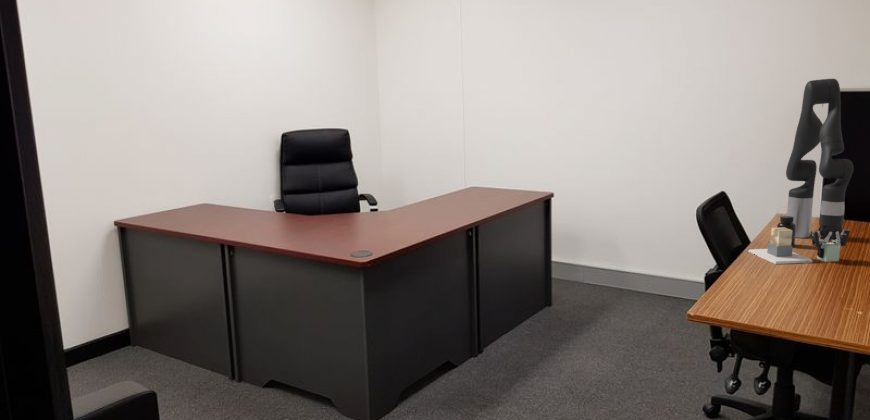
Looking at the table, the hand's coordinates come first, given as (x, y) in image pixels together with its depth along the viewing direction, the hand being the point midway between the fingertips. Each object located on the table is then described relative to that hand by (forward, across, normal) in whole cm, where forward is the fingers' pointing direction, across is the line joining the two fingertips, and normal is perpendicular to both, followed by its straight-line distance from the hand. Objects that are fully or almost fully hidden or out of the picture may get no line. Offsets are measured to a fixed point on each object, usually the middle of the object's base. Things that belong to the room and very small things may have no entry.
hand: (827, 257), depth 231 cm
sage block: (+1, 0, 0) cm, 1 cm away
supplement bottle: (+1, +2, -23) cm, 23 cm away
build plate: (+1, +15, -6) cm, 16 cm away
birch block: (-4, +15, -6) cm, 16 cm away
